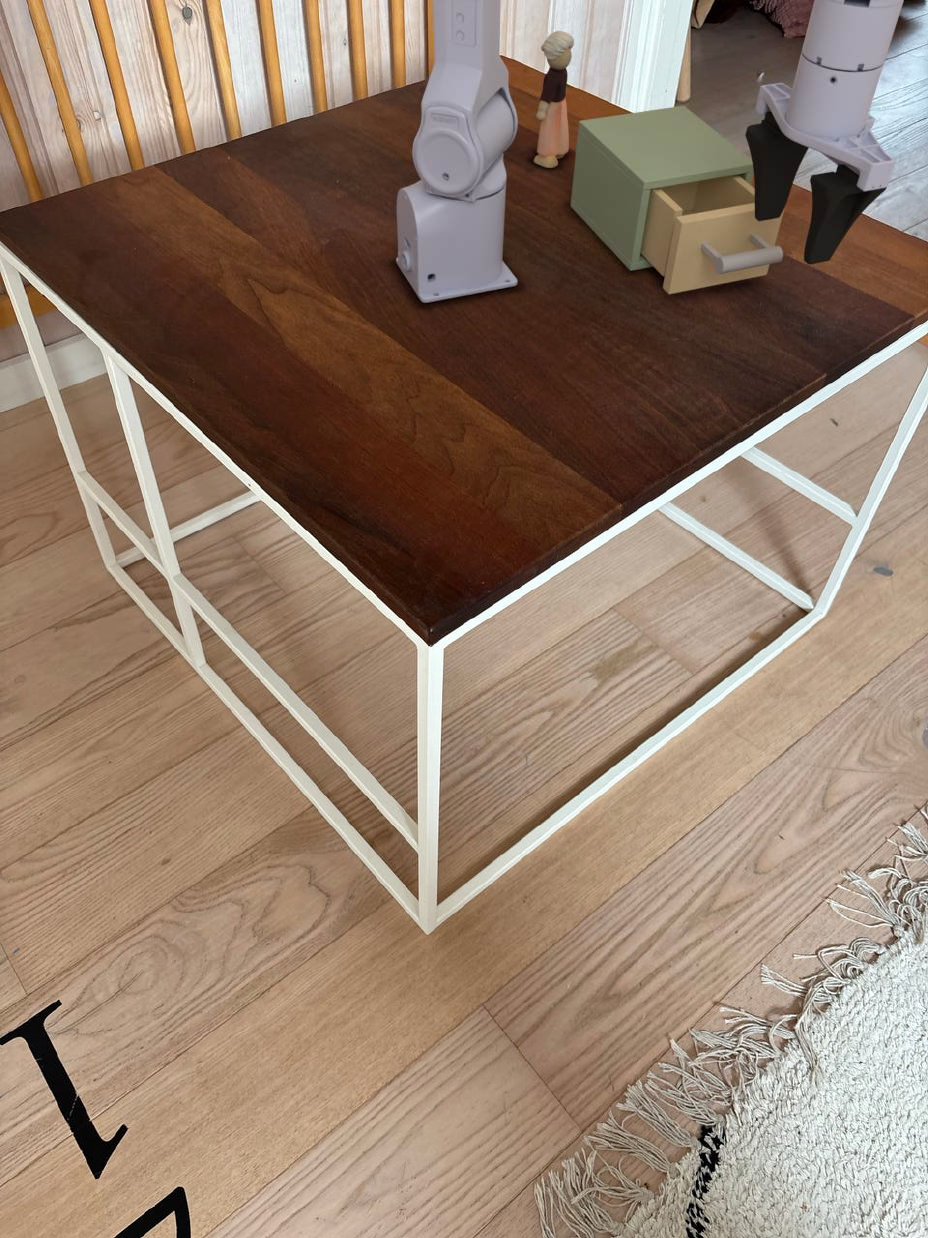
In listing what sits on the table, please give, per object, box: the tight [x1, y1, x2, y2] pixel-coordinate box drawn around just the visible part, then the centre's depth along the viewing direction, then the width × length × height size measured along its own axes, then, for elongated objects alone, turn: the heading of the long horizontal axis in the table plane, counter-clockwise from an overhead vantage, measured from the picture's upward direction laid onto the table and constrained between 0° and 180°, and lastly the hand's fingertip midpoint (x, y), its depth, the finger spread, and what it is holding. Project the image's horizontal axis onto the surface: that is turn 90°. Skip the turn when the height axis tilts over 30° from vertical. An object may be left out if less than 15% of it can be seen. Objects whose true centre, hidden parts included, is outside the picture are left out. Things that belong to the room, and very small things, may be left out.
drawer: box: [640, 174, 786, 295], centre depth 92 cm, size 17×10×7 cm, turn 21°
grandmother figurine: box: [533, 30, 575, 169], centre depth 106 cm, size 8×4×13 cm, turn 168°
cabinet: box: [570, 105, 754, 272], centre depth 97 cm, size 14×12×9 cm
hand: (791, 238), depth 80 cm, fingers open, 7 cm apart
